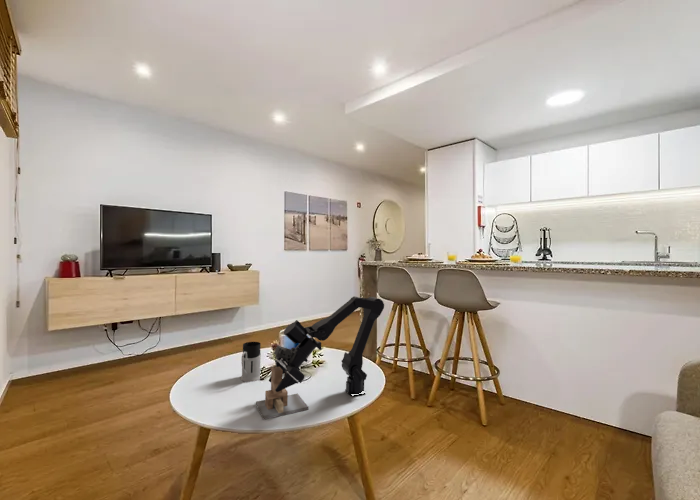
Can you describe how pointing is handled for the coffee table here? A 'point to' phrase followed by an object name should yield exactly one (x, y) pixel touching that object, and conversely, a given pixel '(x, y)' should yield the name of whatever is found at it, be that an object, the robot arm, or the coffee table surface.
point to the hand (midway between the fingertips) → (272, 386)
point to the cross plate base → (287, 409)
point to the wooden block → (271, 394)
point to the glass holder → (251, 361)
